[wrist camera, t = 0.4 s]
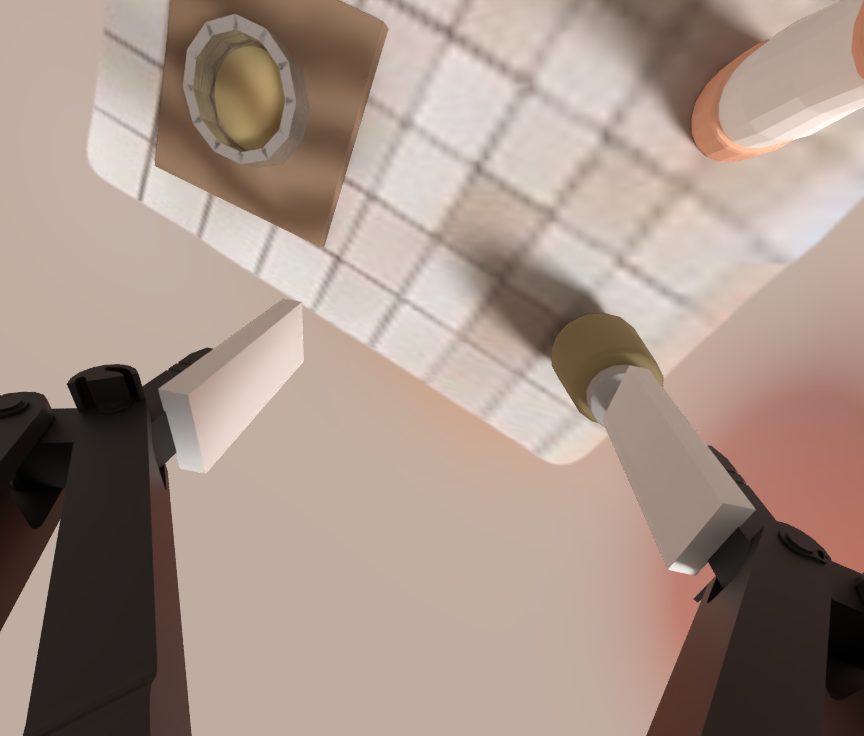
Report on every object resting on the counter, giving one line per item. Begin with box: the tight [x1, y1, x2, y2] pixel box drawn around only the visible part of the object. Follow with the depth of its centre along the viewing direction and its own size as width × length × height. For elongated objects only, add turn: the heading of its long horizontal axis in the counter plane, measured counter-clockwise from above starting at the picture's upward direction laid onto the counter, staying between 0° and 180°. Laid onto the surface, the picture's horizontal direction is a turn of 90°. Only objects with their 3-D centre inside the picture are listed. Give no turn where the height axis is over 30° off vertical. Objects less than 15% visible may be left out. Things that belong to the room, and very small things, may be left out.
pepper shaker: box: [691, 0, 864, 162], centre depth 21 cm, size 7×7×19 cm
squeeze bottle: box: [551, 313, 663, 427], centre depth 31 cm, size 8×8×18 cm
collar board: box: [155, 0, 388, 246], centre depth 35 cm, size 20×20×4 cm
